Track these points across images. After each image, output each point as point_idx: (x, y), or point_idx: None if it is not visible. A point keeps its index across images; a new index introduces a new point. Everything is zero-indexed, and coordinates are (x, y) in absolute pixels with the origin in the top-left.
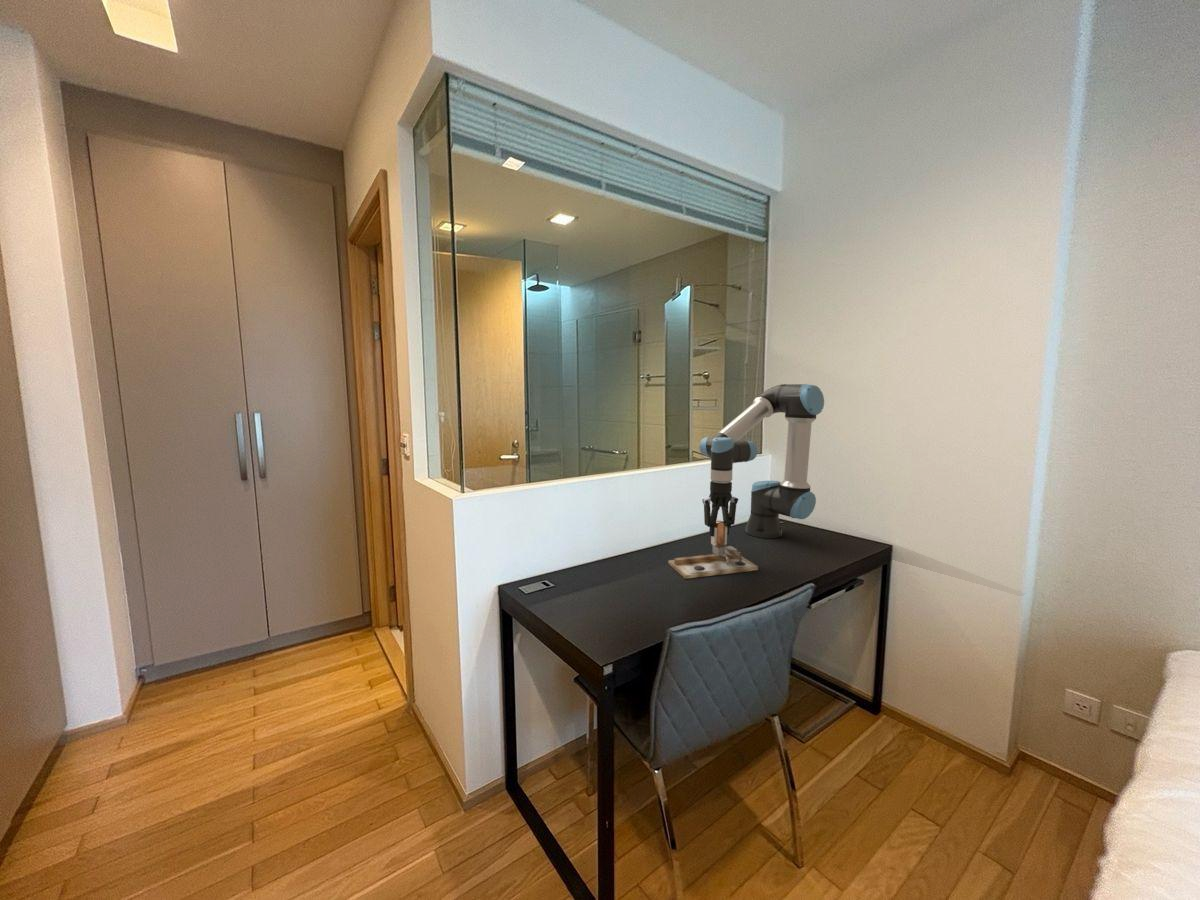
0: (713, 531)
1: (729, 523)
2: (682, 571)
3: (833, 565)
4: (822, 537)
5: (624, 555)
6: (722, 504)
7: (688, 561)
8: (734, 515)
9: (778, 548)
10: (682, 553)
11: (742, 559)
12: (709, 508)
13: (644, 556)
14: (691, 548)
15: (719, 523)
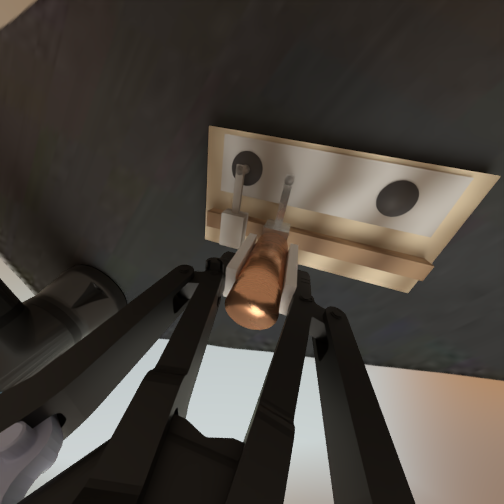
0: (298, 283)
1: (204, 276)
2: (466, 210)
3: (7, 61)
4: (5, 224)
5: (440, 368)
6: (184, 467)
7: (385, 251)
8: (144, 297)
9: (100, 224)
10: None
11: (217, 197)
12: (378, 486)
13: (404, 342)
14: None
15: (269, 296)
